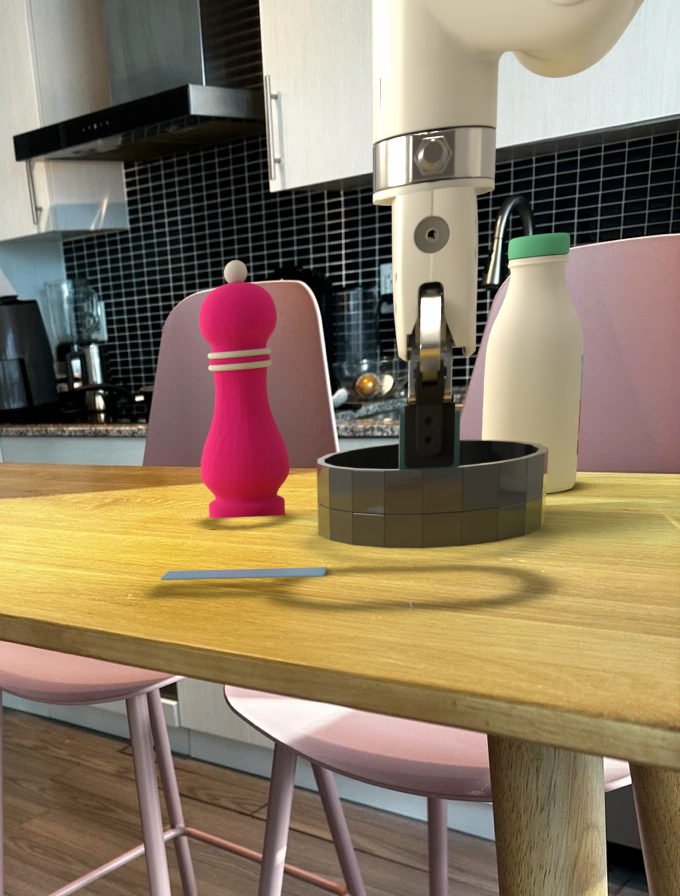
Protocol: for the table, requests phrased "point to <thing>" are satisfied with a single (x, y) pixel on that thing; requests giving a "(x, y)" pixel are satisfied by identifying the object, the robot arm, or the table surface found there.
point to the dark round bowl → (432, 496)
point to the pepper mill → (241, 402)
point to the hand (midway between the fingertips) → (429, 457)
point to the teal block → (455, 463)
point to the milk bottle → (537, 358)
